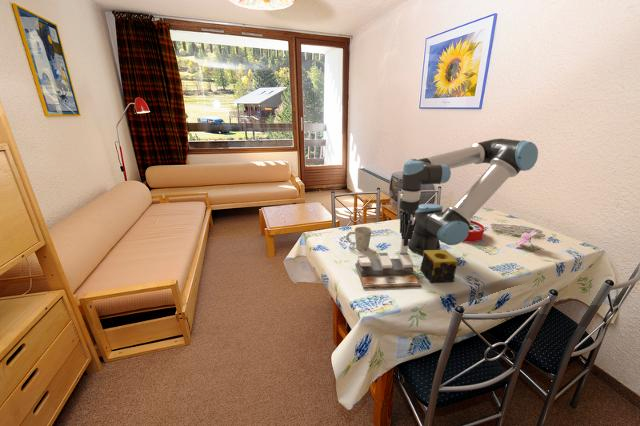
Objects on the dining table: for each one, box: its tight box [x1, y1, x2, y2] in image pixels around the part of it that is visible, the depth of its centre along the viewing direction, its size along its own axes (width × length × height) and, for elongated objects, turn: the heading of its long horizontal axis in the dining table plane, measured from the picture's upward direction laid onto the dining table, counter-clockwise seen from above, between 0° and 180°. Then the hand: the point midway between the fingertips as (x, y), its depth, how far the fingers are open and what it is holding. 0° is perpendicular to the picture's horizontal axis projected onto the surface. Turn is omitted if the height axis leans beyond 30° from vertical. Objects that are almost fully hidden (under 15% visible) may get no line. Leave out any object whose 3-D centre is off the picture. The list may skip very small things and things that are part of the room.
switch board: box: [354, 258, 422, 290], centre depth 116 cm, size 23×18×4 cm
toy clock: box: [463, 219, 485, 243], centre depth 155 cm, size 20×6×20 cm
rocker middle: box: [377, 252, 392, 268], centre depth 118 cm, size 4×8×2 cm, turn 3°
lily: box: [514, 229, 538, 249], centre depth 139 cm, size 12×12×10 cm
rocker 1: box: [357, 255, 371, 266], centre depth 117 cm, size 4×8×2 cm, turn 3°
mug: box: [345, 226, 373, 252], centre depth 139 cm, size 8×13×10 cm, turn 78°
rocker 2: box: [397, 251, 415, 268], centre depth 118 cm, size 4×8×2 cm, turn 3°
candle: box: [419, 249, 458, 284], centre depth 114 cm, size 10×10×10 cm
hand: (403, 251), depth 120 cm, fingers closed
